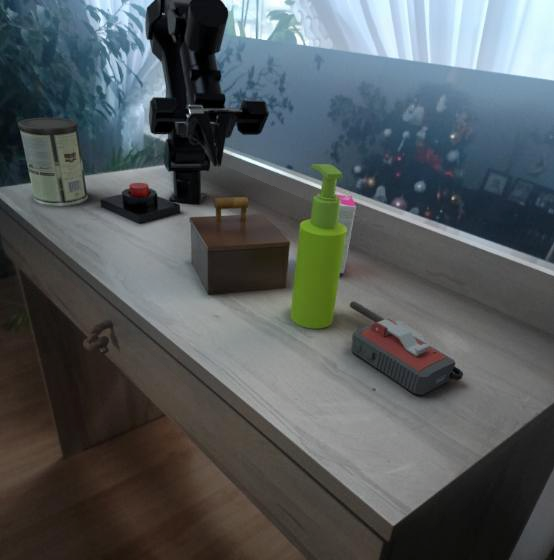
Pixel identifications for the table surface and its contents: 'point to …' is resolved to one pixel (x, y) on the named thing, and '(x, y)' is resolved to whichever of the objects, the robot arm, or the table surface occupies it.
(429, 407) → the table surface
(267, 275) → the chest
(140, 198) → the button box
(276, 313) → the table surface
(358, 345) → the walkie-talkie
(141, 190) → the button
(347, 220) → the supplement box
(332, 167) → the soap dispenser
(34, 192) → the coffee can
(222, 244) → the lid
